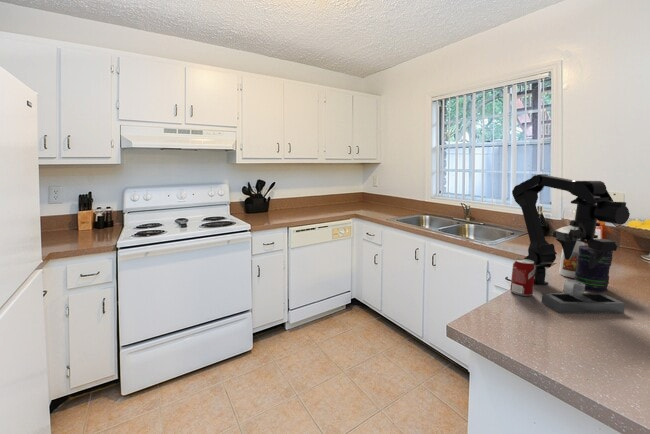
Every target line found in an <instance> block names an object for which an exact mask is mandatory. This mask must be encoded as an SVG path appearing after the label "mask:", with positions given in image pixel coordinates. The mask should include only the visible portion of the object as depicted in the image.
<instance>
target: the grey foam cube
mask: <svg viewBox="0 0 650 434" xmlns="http://www.w3.org/2000/svg"><path fill="white" fill-rule="evenodd" d="M563 281H564V282H563V290H562V293H585V290H584V289H585V284H583V283H581V282H579V281H576V280H574V279H571V280H569V279H565V280H563Z"/></svg>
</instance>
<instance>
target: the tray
mask: <svg viewBox="0 0 650 434" xmlns="http://www.w3.org/2000/svg"><path fill="white" fill-rule="evenodd" d="M541 303H542V304H543V305H546V306H547V307H549V308H551V309H552V310H553V311H555V312H557V313H558V314H624V313H625V311H626V310H625V309H626V303H625V302H623V301H622V300H619V299H616V298H615V297H612V296H610V295H607V294H605V293H604V292H591V293H590V292H584V293H563V292H542V296H541Z"/></svg>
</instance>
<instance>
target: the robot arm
mask: <svg viewBox="0 0 650 434" xmlns="http://www.w3.org/2000/svg"><path fill="white" fill-rule="evenodd" d="M545 187H547V188H552V189H556V190H560V191H566V192H568V193H570V194H571V195H572V196H575V197H576V198H574V199H573V200H571V201H570V204H574V205H576V209H575V210H576V211H575V215H574V216H575V217H574V219H571V221H569V225H566V226H562V227H560V228H557V229H554V231H552V232H553V233H552V237H553V238H554V239H555V240H556V241H557V242H559V243H560V245H561V248H563V252H564V256H565V259H566V260H569V259H570V257H571V255H572V252H573V249H574V247H575V244H576V241H580V242H584V244H588V245H587V246H589V247H590V248H587V249H588V251H589V252H590V258H589V268H590V269H593V268H594V267H595V265H596V264H597V263H598V262H599V261H600V260H601V259H602V258H603V257H604V256H605V255H606V254H607V253H608V252H612V251H613V252H617V248H618V243H617V242H616V241H615V240H614V241H613V240H611V239H606V238H598V237H599V235H598V234H596V228H597V227H601V223H600V222H602V223H609V224H615V225H619V226H620V225H621V226H622V225H624V224H626V223H627V222H628V220H629V219H630V215H631V213H630V211H629V208H628V207H627V202H625V201H614V200H613V198H612V196H611V195H610V192H609V191H608V190H607V186H606V184H605V182H604V181H601V180H574V179H570V178H563V177H558V176H553V175H548V174H546V173H545V174H535V175H533V176H532V177H530V178H528V179H527V180H525V181H522V182H521V183H519V184H516V185H515V186H514V187H513V189H512V191H511V192H512V193H511V194H512V197H513V198H514V201H515V203H516V204H517V205H518V206H519V207H520V208H521V211H522V215H523V219H524V223H525V226H526V230H527V231H526V232H527V234H528V239H529V245H528V247H527V252H528V255H527V256H525V257H524V258H523V259H528V260H532V261H534V265H535V267H536V270H535V279H534V285H548V284H549V282H548V281H546V275H547V273H546V270H547V268H551V266H552V265H553V263H554V262H555V261H556V259H557V255H558V253H557V252H556V249H555V245H554V243H549V242H548V241H547V239H546V237H545V233H544V231H543V230H544V229H543V226H542V222H541V219H540V214H539V211H538V208H537V202H538V200H539V193H540V192H541V191H543V190H544V188H545ZM598 221H599V222H598ZM579 238H580V239H579Z"/></svg>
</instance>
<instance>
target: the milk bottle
mask: <svg viewBox="0 0 650 434" xmlns="http://www.w3.org/2000/svg"><path fill="white" fill-rule="evenodd" d="M579 239H580V238H579ZM584 245H585V246H586V243H584V242H580V241H576V244H575V247H574V249H573V252H572V255H571V257H570V259H569V260H566V259H565V256H564V252H563V248H562V247H561V248H562V249H561V257H560V262H559V263H560V264H559V271H558V272H559V275H560V276H564V277H566V278H571V279H575V278H574V276H575V271H576V270H577V263H578V261H577V257H578V256H577V254H578V250H579V246H584Z"/></svg>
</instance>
